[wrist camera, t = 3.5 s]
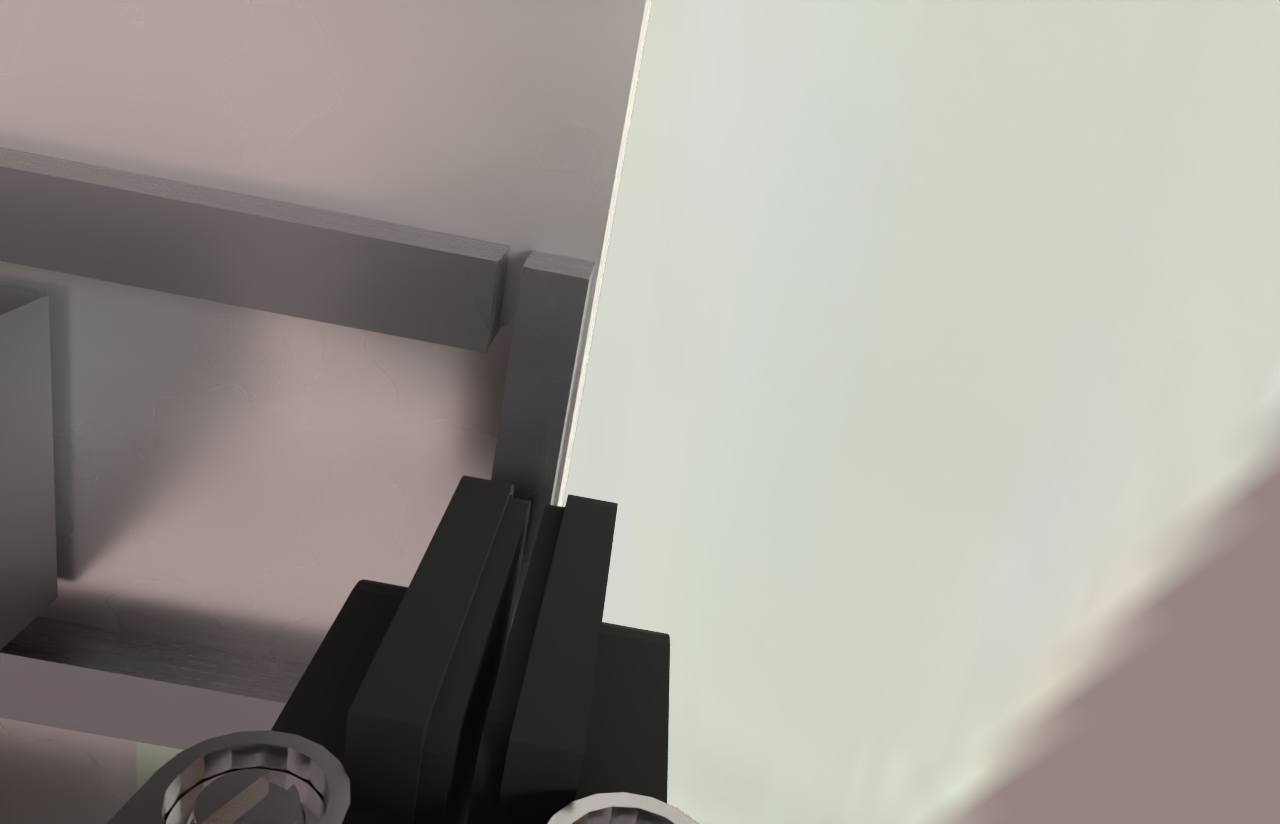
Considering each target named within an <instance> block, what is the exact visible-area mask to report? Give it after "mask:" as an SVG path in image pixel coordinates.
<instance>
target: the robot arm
mask: <svg viewBox="0 0 1280 824" xmlns="http://www.w3.org/2000/svg"><path fill="white" fill-rule="evenodd" d="M513 493H514V484H509V483H503V482H498V481H492V480H487V479H481V478H476V477H471V476H465V475H463V476H462V478H461V480H460V482H459V484H458V486H457V488H456V490H455V492H454V494H453V496H452V498H451V500H450V502H449V505H448V507H447V509H446V511H445V513H444V515H443V517H442V519H441V521H440V523H439V525H438V527H437V529H436V531H435V533H434V535H433V538H432V540H431V542H430V544H429V546H428V548H427V550H426V552H425V554H424V556H423V558H422V560H421V562H420V564H419V566H418V569H417V571H416V573H415V575H414V577H413V579H412V581H411V583H410V585H409V587H404V586H399V585H393V584H387V583H382V582H376V581H371V580H365V579H363V580H359V581H358V583H357V584H356V585H355V587H354V588H353V590H352V591H351V593H350V595H349V596H348V598H347V600H346V602H345V603H344V605H343V607H342V609H341V610H340V612H339V614H338V615H337V617H336V619H335V621H334V622H333V624H332V626H331V627H330V629H329V631H328V633H327V634H326V636H325V638H324V640H323V641H322V643H321V645H320V646H319V648H318V650H317V652H316V653H315V655H314V657H313V658H312V660H311V662H310V664H309V665H308V667H307V669H306V670H305V672H304V674H303V676H302V677H301V679H300V681H299V683H298V684H297V686H296V688H295V689H294V691H293V693H292V695H291V696H290V698H289V700H288V701H287V703H286V705H285V707H284V708H283V710H282V712H281V713H280V715H279V717H278V719H277V720H276V722H275V724H274V726H273V727H272V729H271V730H262V731H239V732H234V733H230V734H226V735H222V736H218V737H214V738H209V739H207V740H205V741H202V742H200V743H198V744H196V745H194V746H192V747H190V748H188V749H185V750H183V751H181V752H180V753H178V754H177V755H176V756H174V757H173V758H172V759H171V760H169V761H168V762H167V763H166V764H164V765H163V766H162V767H161V768H159V769H158V770H157V771H156V772H155V773H154V774H153V775H152V776H151V777H150V778H149V779H148V780H147V782H146V783H145V784H144V785H143V786H142V787H141V788H140V789H139V790H138V791H137V792H136V793H135V794H134V795H133V796H132V797H131V798H130V799H129V800H128V801H127V802H126V804H125V805H124V806H123V807H122V808H121V809H120V810H119V811H118V812H117V813H116V814H115V815H114V816H113V817H112V818H111V819H110V820H109V821H108V822H107V823H106V824H699V823H698V822H696V821H695V820H694V819H692V818H691V817H689V816H688V815H687V814H685V813H684V812H682V811H681V810H680V809H678V808H676V807H674V806H671V805H669V804H667V771H668V719H669V666H670V637H669V635H668V634H665V633H659V632H654V631H648V630H643V629H637V628H631V627H626V626H620V625H615V624H609V623H604V622H602V617H603V610H604V602H605V595H606V587H607V580H608V572H609V565H610V557H611V550H612V542H613V535H614V527H615V520H616V512H617V503H612V502H606V501H601V500H595V499H590V498H585V497H579V496H574V495H568V498H567V502H566V506H565V507H560V506H555V505H549V504H546V506H545V510H544V513H543V517H542V520H541V524H540V527H539V531H538V534H537V538H536V541H535V545H534V549H533V552H532V556H531V559H530V563H529V566H528V570H527V573H526V577H525V580H524V584H523V588H522V591H521V595H520V598H519V602H518V605H517V609H516V612H515V616H514V619H513V623H512V618H513V612H514V606H515V599H516V593H517V587H518V581H519V575H520V569H521V562H522V556H523V550H524V544H525V538H526V532H527V525H528V519H529V513H530V505H531V501H528V500H522V499H517V498H513ZM511 624H512V627H511Z"/></svg>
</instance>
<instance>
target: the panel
mask: <svg viewBox="0 0 1280 824" xmlns="http://www.w3.org/2000/svg"><path fill="white" fill-rule="evenodd" d="M651 4H652V0H0V286H5V287H11V288H16V289H21V290H27V291H32V292H37V293H43V294H48V295H49V321H50V355H51V388H52V421H53V454H54V487H55V521H56V554H57V587H58V598H57V599H56V600H54V601H53V602H52V603H51V604H50V605H49V606H48V607H47V608H46V609H45V610H44V611H43V612H41V613H40V614H39V615H38V616H37V617H36V618H35V619H34V620H33V621H32V622H31V623H30V624H28V625H27V626H26V627H25V628H24V629H23V630H22V631H21V632H20V633H19V634H18V635H17V636H15V637H14V638H13V639H12V640H11V641H10V642H9V643H8V644H7V645H6V646H5V647H4V648H2V649H1V650H0V824H106V823H107V822H108V821H109V820H110V819H111V818H112V817H113V816H114V815H115V814H116V813H117V812H118V811H119V810H120V809H121V808H122V807H123V806H124V805H125V804H126V802H127V801H128V800H129V799H130V798H131V797H132V796H133V795H134V794H135V793H136V792H137V791H138V790H139V789H140V788H141V787H142V786H143V785H144V784H145V783H146V782H147V780H148V779H149V778H150V777H151V776H152V775H153V774H154V773H155V772H156V771H157V770H158V769H159V768H161V767H162V766H163V765H164V764H166V763H167V762H168V761H169V760H171V759H172V758H173V757H174V756H176V755H177V754H178V753H180V752H181V751H183V750H185V749H188V748H190V747H192V746H194V745H196V744H198V743H200V742H202V741H205V740H207V739H209V738H214V737H218V736H222V735H226V734H230V733H234V732H239V731H262V730H271V729H272V727H273V726H274V724H275V722H276V720H277V719H278V717H279V715H280V713H281V712H282V710H283V708H284V707H285V705H286V703H287V701H288V700H289V698H290V696H291V695H292V693H293V691H294V689H295V688H296V686H297V684H298V683H299V681H300V679H301V677H302V676H303V674H304V672H305V670H306V669H307V667H308V665H309V664H310V662H311V660H312V658H313V657H314V655H315V653H316V652H317V650H318V648H319V646H320V645H321V643H322V641H323V640H324V638H325V636H326V634H327V633H328V631H329V629H330V627H331V626H332V624H333V622H334V621H335V619H336V617H337V615H338V614H339V612H340V610H341V609H342V607H343V605H344V603H345V602H346V600H347V598H348V596H349V595H350V593H351V591H352V590H353V588H354V587H355V585H356V584H357V583H358V581H359V580H363V579H365V580H371V581H376V582H382V583H387V584H393V585H399V586H404V587H409V585H410V583H411V581H412V579H413V577H414V575H415V573H416V571H417V569H418V566H419V564H420V562H421V560H422V558H423V556H424V554H425V552H426V550H427V548H428V546H429V544H430V542H431V540H432V538H433V535H434V533H435V531H436V529H437V527H438V525H439V523H440V521H441V519H442V517H443V515H444V513H445V511H446V509H447V507H448V505H449V502H450V500H451V498H452V496H453V494H454V492H455V490H456V488H457V486H458V484H459V482H460V480H461V478H462V476H463V475H465V476H471V477H476V478H481V479H487V480H492V481H498V482H503V483H509V484H514V493H513V498H517V499H522V500H528V501H531V505H530V513H529V519H528V525H527V532H526V538H525V544H524V550H523V556H522V562H521V569H520V575H519V581H518V587H517V593H516V599H515V606H514V612H513V618H512V623H513V619H514V616H515V612H516V609H517V605H518V602H519V598H520V595H521V591H522V588H523V584H524V580H525V577H526V573H527V570H528V566H529V563H530V559H531V556H532V552H533V549H534V545H535V541H536V538H537V534H538V531H539V527H540V524H541V520H542V517H543V513H544V510H545V506H546V504H549V505H555V506H560V507H562V506H563V500H564V495H565V489H566V483H567V478H568V472H569V466H570V461H571V455H572V449H573V444H574V438H575V433H576V427H577V421H578V416H579V410H580V404H581V399H582V393H583V387H584V382H585V376H586V371H587V365H588V359H589V354H590V348H591V342H592V337H593V331H594V325H595V320H596V314H597V309H598V303H599V297H600V292H601V286H602V280H603V275H604V269H605V263H606V258H607V252H608V247H609V241H610V235H611V230H612V224H613V218H614V213H615V207H616V201H617V196H618V190H619V185H620V179H621V173H622V168H623V162H624V156H625V151H626V145H627V139H628V134H629V128H630V123H631V117H632V111H633V106H634V100H635V94H636V89H637V83H638V77H639V72H640V66H641V60H642V55H643V49H644V44H645V38H646V32H647V27H648V21H649V15H650V10H651ZM511 627H512V624H511Z"/></svg>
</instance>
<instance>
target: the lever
mask: <svg viewBox="0 0 1280 824" xmlns="http://www.w3.org/2000/svg"><path fill="white" fill-rule="evenodd" d="M57 598H58V587H57V554H56V521H55V487H54V454H53V421H52V388H51V355H50V321H49V295H48V294H43V293H37V292H32V291H27V290H21V289H16V288H11V287H5V286H0V650H1V649H2V648H4V647H5V646H6V645H7V644H8V643H9V642H10V641H11V640H12V639H13V638H14V637H15V636H17V635H18V634H19V633H20V632H21V631H22V630H23V629H24V628H25V627H26V626H27V625H28V624H30V623H31V622H32V621H33V620H34V619H35V618H36V617H37V616H38V615H39V614H40V613H41V612H43V611H44V610H45V609H46V608H47V607H48V606H49V605H50V604H51V603H52V602H53V601H54V600H56V599H57Z"/></svg>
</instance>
